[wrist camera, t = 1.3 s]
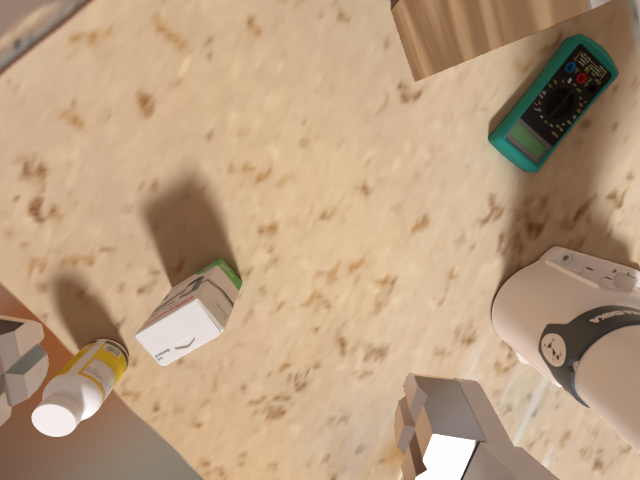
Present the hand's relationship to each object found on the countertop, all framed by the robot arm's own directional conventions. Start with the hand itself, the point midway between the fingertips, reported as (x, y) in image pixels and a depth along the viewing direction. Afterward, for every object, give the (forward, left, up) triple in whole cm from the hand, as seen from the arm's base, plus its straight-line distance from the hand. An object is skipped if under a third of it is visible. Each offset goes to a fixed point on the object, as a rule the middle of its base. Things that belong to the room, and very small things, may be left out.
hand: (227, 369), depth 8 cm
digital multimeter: (-31, -11, -38) cm, 50 cm away
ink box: (+10, +16, -38) cm, 42 cm away
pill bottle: (+24, +28, -38) cm, 53 cm away
